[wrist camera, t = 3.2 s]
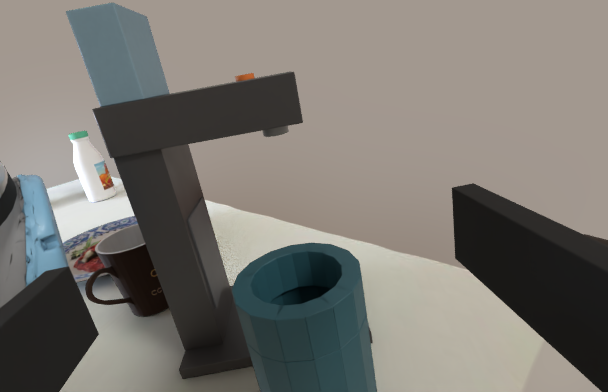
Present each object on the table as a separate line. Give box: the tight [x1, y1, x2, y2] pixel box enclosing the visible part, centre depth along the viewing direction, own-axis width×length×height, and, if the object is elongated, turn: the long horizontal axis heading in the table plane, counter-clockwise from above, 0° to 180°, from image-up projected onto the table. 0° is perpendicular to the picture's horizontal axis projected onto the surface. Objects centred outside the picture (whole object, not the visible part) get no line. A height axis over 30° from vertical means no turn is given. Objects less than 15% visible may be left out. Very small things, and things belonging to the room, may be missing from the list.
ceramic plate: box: [62, 216, 138, 282], centre depth 65 cm, size 26×26×3 cm
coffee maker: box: [66, 3, 372, 379], centre depth 35 cm, size 13×19×33 cm
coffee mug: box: [85, 224, 169, 317], centre depth 45 cm, size 12×9×10 cm
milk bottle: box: [69, 131, 116, 202], centre depth 102 cm, size 8×8×20 cm
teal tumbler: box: [232, 243, 377, 392], centre depth 25 cm, size 8×8×14 cm
